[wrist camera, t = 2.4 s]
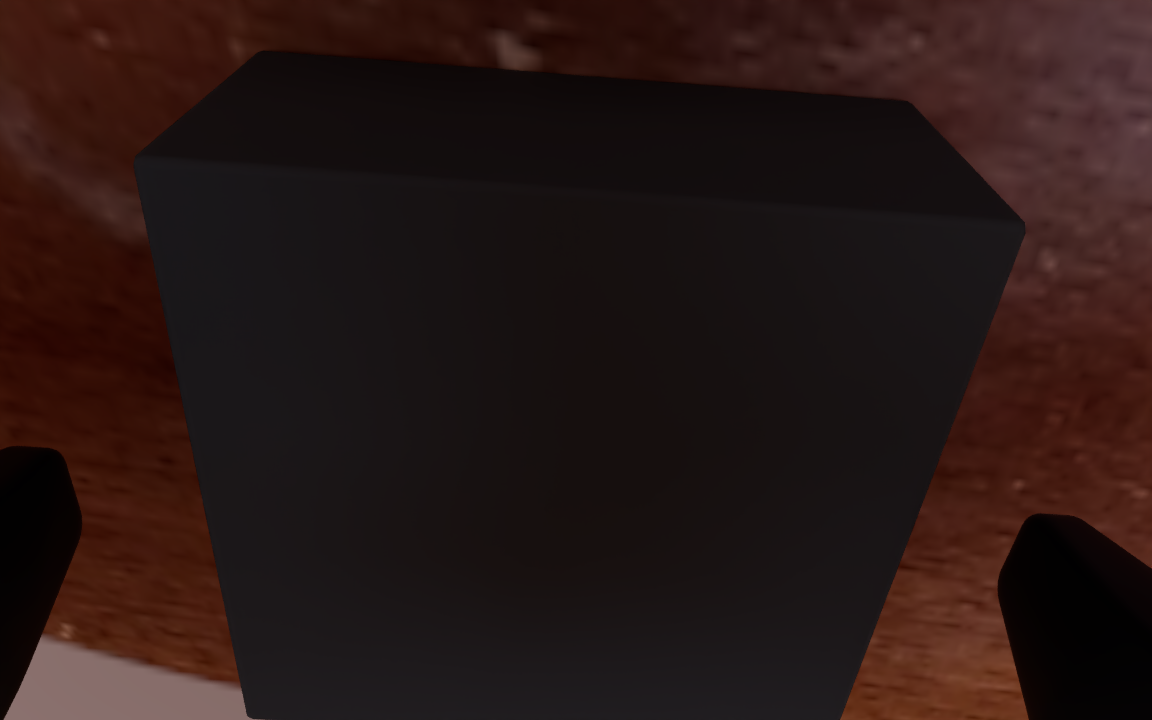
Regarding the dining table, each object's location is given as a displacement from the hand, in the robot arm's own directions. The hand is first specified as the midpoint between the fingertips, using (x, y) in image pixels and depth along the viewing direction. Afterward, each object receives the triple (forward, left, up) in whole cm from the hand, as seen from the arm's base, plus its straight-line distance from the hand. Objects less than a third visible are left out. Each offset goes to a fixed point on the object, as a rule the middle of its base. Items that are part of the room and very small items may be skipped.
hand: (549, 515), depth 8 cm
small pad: (0, 0, -3) cm, 3 cm away
